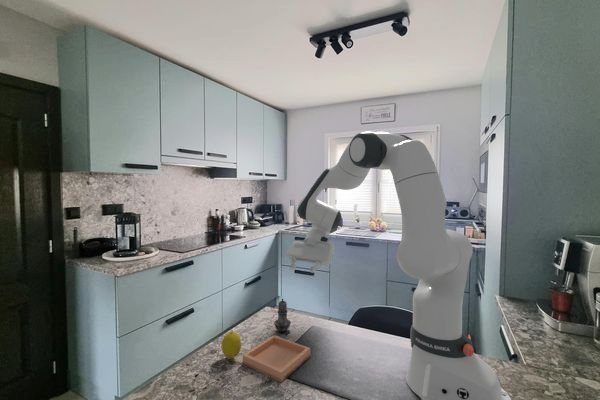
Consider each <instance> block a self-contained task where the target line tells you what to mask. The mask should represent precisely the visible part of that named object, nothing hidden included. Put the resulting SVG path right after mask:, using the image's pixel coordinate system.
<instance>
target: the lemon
mask: <svg viewBox="0 0 600 400" xmlns="http://www.w3.org/2000/svg"><path fill="white" fill-rule="evenodd" d="M241 339H242V338H241V337H240V335H239V333H237V332H236V331H233V330H231V331H229V332H227V333H226V334H225V335H224V336H223V338H222V341H221V351H222V354H223V355H224V357H225V358H229V359H231V360H233V359H234V358H235V357H236V356H238V355H239V353H240V351H241V349H242V340H241Z"/></svg>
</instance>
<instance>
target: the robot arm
mask: <svg viewBox="0 0 600 400" xmlns="http://www.w3.org/2000/svg"><path fill="white" fill-rule="evenodd" d="M434 161H435V160H434V159H433V158H432V154H431V153H430V151H429V150H428V148H427V146H426V144H425V143H424V142H422V140H419V139H418V140H417V139H413V138H411V137H410V136H407V135H404V134H396V133H389V132H387V131H377V132H374V131H363V132H359V133H357V134H356V135H354V137H352V138H351V141H350V142H349V143H348V145H347V146H346V147H345V149H344V151H343V153H342V154H341V155H340V157H339V160H338V162H337V163H336V164H335V165H334V166H332V167H326V168H325V170H324V171H322V173H321V174H320V175H319V177H318V178H317V179H316V181H315V182H314V183H313V184H312V186H311V188H310V189H309V191H308V192H307V193H306V195H305V196H304V197H303V198H302V199H301V200H300V201H299V202H298V205H297V209H296V212H297V215H298V216H299V218H300V219H302V220H304V221H308V222H309V223H311V228H310V229H309V230H308V231H307V234H306V236H305V238H304V239H302V240H300V239H296V240H294V241H292V243H291V244H290V246H289V247H288V248H287V250H286V252H285V255H286V257H287V258H288V259H289V260H290V262H291V263H290V266H289V268H290V269H291V270H295V269H296V267H297V265H296V264H295V263H296V262H297V261H298V262H305V263H310V264H314V265H313V266H310V269H309V272H310V273H313V274H316V271H317V270H318V269H319V268H321V266H322V265H324V266H329V265H331V264H332V262H333V259H334V256H335V255H334V253H335V251H336V246H335V244H334V243H333V241H332V239H331V238H329V236H330V234H333V233H334V232H336V231H337V230H338V227H339V225H340V222H341V220H342V217H343V216H342V214H341V211H340V210H339V209H338V208H336V207H334V206H332V205H329V204H327V203H325V202H324V201H322V200H319V199H318V198H317V197H319V195H320V194H321V192H322V191H323V190H325V189H336V190H345V191H349V190H353V189H356V188H358V187H360V186H361V185H362V183H363V182H364V181H365V179H366V178H367V176H368V174H369V172H370V170H371V169H374V170H375V169H376V170H381V171H382V170H383V171H386V170H389V171H390V172H391V175H392V179H393V180H392V181H393V183H394V188H395V192H396V194H397V195H396V196H397V199H398V204H399V208H400V212H401V239H400V243H399V245H398V247H397V250H396V260H397V263H398V265H399V267H400V269H401V270H402V271H403V272H404V273H405V274H406V276H409V277H411V278H413V279H418V284H417V286H416V288H415V290H414V292H413V295H412V323H411V325H410V327H411V328H410V347H411V353H410V360H409V361H410V362H409V366H408V369H407V372H406V376H405V381H406V384H407V386H408V387H409V388H410V390H412V391H413V393H414V394H415V395H417V396H418V397H419V398H420V400H512V398H511V396H510V395H509V394H508V392H507V391H506V390H505V389H503V387H501V384H500V381H499V378H498V376H497V374H496V372H495V371H494V369H493V368H492V367H491V366H490V365H488V364H487V362H485V361H484V360H483V359H481V357H479V356H478V355H477V354H476V353H475V352H474V346H473V341H472V340H471V335H470V334H468V336H467V335H466V334H465V333H464V332H463V299H464V295H465V288H466V283H467V280H468V279H467V277H468V271H469V266H470V263H471V262H470V261H471V260H472V256H473V254H474V253H473V252H474V249H473V245H472V243H471V241H470V239H469V238H468V237H467V236H466V235H465V234H463V233H462V232H459V231H457V230H453V229H447V228H446V227H447V226H446V208H447V205H448V204H447V198H446V196H445V192H444V189H443V185H442V182H441V179H440V175H439V172H438V169H437V166H436V164H435V162H434Z"/></svg>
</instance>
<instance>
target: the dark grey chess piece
mask: <svg viewBox="0 0 600 400" xmlns="http://www.w3.org/2000/svg"><path fill="white" fill-rule="evenodd" d="M277 304H278V305H277V306H278V307H277V311H276V313H277V319H275V321H274V322H273V323H274V324H273V325H274V327H275V329H276V330H275V331H274V335H275V336H278V337H286V336H289V335H290V334H291V331H290V330H289V329H290V325H291V323H292V322H291V320H289V319H288V318H287V317H288V316H287V315H288V309H287V307H288V306H287V301H285V300H284V298H282V299H281V300H280V301H279V302H278V303H277Z"/></svg>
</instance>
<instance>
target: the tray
mask: <svg viewBox="0 0 600 400" xmlns="http://www.w3.org/2000/svg"><path fill="white" fill-rule="evenodd" d="M310 358H311V347H308V346H305V345H303V344H300V343H297V342H294V341H291V340H290V339H286V338H283V337H282V336H277V335H276V334H274V335H272V336H271V337H268V338H267V339H266V340H263V342H261V343H259V344H257V345H256V346H254V347H253V348H252V349H250V350H249V351H247V352H245V353H244V354H242V364H243V365H245V366H247V367H249V368H251V369H253V370H255V371H257V372H259V373H260V374H263V375H265V376H267V377H269V378H272V379H274V380H275V381H277V382H280V383H282V382H284V380H286V379H287V378H288V377H289V376H290V375H292V373H295V371H296V370H297V369H299V368H300V366H302V365H303V364H304V363H305V362H306V361H307V360H308V359H310ZM305 360H306V361H305ZM304 361H305V362H304ZM303 362H304V363H303ZM302 363H303V364H302Z"/></svg>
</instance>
